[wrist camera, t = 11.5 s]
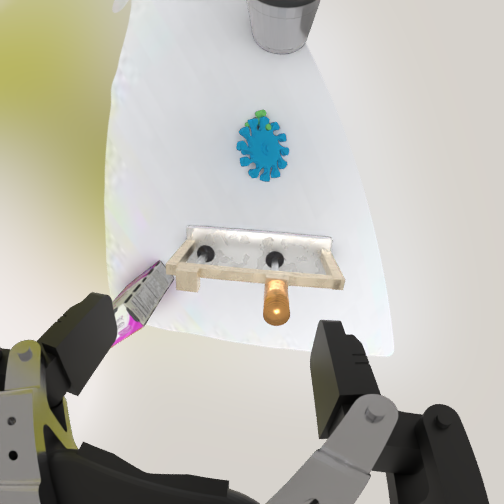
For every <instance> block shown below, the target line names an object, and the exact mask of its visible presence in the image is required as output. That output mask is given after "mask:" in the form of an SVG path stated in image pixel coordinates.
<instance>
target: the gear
mask: <svg viewBox="0 0 504 504" xmlns="http://www.w3.org/2000/svg"><path fill="white" fill-rule="evenodd" d="M255 115H256V117H255V118H253V119H250V120H248V122H247V123H245V126H246V127H243V128H241V129H240V131H239V133H240V135H242V136H243V137H244V138H245V139H246V140H247V142H248V145H249V146H248V147H247V145H246V143H245V142H244V141H239V142H238V143H237V147H236V149H237V150H239V151H241V153H242V154H243V155H247V154H250V159H249V158H248V157H242V158H240V163H241V166H248V165H249V164H250V163H252V162H254V163H255V164H256V168H255V169H250V170H249V171H248V173H249V175H250V176H251V177H252V178H257V177H258V175H259V172H260V170H261V169H262V168H264V173H263V174H261V175H260V180H262V181H265V182H269V180H270V169H271V167H272V171H271V178H277V177H280V172H279V170H278V167H279V169H284V168H285V167H286V166H287V162H286V161H284V160H283V159H282V157H281V155H280V152H281V154H282V155H283V156H285V155H288V154H289V148H287V147H286V148H285V147H282V146H281V145H280V144H279V143H278V140H279V141H280V142H283V141H286V135H285V134H284V133H283V134H279V135H278V136H275V135H274V134H273V131H274V130H279V128H280V127H279V125H278V123H277V122H274V123H271V124H268V123H269V119H268V118H267V117H265V116H266V111H265V110H260V111H256V113H255ZM249 126H250V128H251V132H252V136H250V129H249V128H248V127H249ZM277 161H278V167H277Z"/></svg>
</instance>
